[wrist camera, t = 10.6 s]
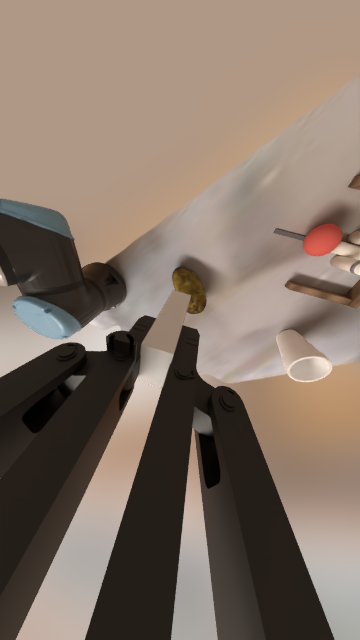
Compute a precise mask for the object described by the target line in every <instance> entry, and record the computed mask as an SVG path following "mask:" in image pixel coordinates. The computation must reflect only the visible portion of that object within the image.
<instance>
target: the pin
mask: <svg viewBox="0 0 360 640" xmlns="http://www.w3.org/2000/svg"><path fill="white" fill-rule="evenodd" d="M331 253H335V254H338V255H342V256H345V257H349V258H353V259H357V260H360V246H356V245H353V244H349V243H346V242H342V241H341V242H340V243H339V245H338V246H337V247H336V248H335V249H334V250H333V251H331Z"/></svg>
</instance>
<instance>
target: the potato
mask: <svg viewBox="0 0 360 640" xmlns="http://www.w3.org/2000/svg"><path fill="white" fill-rule="evenodd" d="M172 280H173V284H174V288H175V291H178V292H181V293H185V294H188V295H191V298H190V301H189V305H188V308H187V312H188V313H190V314H197V313H201V312H202V311H203V310H204V308H205V306H206V295H205V292H204V289H203V287H202V285H201V283H200V280H199V279H198V277H197V276H196V275H195V274H194V273H193V272H192V271H190V270H188V269H186V268H183V267H179V268H176V269H175V270H174V272H173V275H172Z"/></svg>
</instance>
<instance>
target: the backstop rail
mask: <svg viewBox="0 0 360 640" xmlns="http://www.w3.org/2000/svg"><path fill="white" fill-rule="evenodd" d="M348 187H349V188H353V189H358V190H360V175H359V176H356V177H354V179H353V180H352V182H351V183H350V185H349V186H348ZM285 287H286V288H288V289H289V290H293V291H297V292H300V293H304V294H308V295H311V296H315V297H319V298H322V299H326V300H330V301H333V302H337V303H341V304H344V305H348V306H350V307H354V308H358V307H359V306H360V280H359V281H358V282H357V283H356V284H355V285H354V287H353V288H352V289H351V290H350V291H349V292H348V293H347V294H346V295H345V296H343V295H339V294H336V293H332V292H328V291H325V290H321V289H317V288H313V287H310V286H306V285H302V284H299V283H295V282H291V281H287V283H286V285H285Z"/></svg>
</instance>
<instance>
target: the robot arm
mask: <svg viewBox="0 0 360 640" xmlns="http://www.w3.org/2000/svg"><path fill="white" fill-rule="evenodd" d="M15 284H17V286H18V288H19V290H20V292H21V293H22V296H19V297H18V298H17V299H16V300H14V302H13V310H14V312H15V314H16V315H17V317H18V318H19V319H20V320H21V321H22V322H23V323H24V324H25V325H27V326H28V327H29V328H30V329H32V330H33V331H35V332H37V333H39V334H41V335H43V336H45V337H48V338H52V339H66V338H68V337H70V336H72V335H73V334H75V333H76V332H78V331H80V330H81V329H82V328H83V327H84V326H86V325H87V324H88V323H89V322H90V321H92V320H93V319H94V318H95V317H96V316H98V315H99V314H100V313H101V312H103V311H106V310H110V309H113V308H116V307H118V306H119V305H120V304H121V303H122V302H123V301H124V299H125V297H126V287H125V283H124V281H123V279H122V278H121V276H120V275H119V274H118V272H117V271H116V270H114V269H113V268H112V267H110V266H109V265H107V264H104V263H99V262H96V263H91V264H88V265H86V266H84V267H83V268H81V265H80V261H79V257H78V254H77V250H76V247H75V243H74V238H73V237H72V235H71V231H70V228H69V226H68V223H67V220H66V219H65V217H64V216H63V215H62V214H60V213H59V212H57V211H55V210H52V209H48V208H44V207H40V206H36V205H32V204H27V203H22V202H17V201H12V200H7V199H0V285H1V286H10V285H15ZM190 298H191V295H188V294H185V293H181V292H178V291H174V290H173V291H172V293H171V295H170V296H169V298H168V300H167V302H166V303H165V305H164V307H163V308H162V310H161V312H160V313H159V315H158V317H157V318H153V317H150V316H146V315H145V316H143V317H141V318H139V319H138V320H137V322H136V323H135V324H134V326H133V327H132V328H131V329H130V331H129V332H128V331H116V332H113V333H110V334H109V335H108V336H106V342H107V351H100V352H99V351H86V350H85V347H84V346H83V345H82V344H79V343H71V342H70V343H65V344H61V345H59V346H57V347H54V348H53V349H51V350H49V351H47V352H45V353H44V354H42V355H40V356H38V357H36V358H35V359H33V360H31V361H29V362H28V363H26V364H24V365H22V366H20V367H18V368H17V369H15V370H13V371H11V372H10V373H8V374H6V375H4V376H2V377H1V378H0V478H1V479H0V640H16V637H17V635H18V633H19V631H20V629H21V627H22V625H23V623H24V620H25V618H26V616H27V614H28V612H29V610H30V608H31V606H32V603H33V601H34V599H35V597H36V595H37V593H38V591H39V589H40V587H41V584H42V582H43V580H44V578H45V576H46V574H47V572H48V570H49V568H50V565H51V563H52V561H53V559H54V557H55V555H56V553H57V551H58V549H59V546H60V544H61V542H62V540H63V538H64V536H65V534H66V532H67V530H68V527H69V525H70V523H71V521H72V519H73V517H74V515H75V513H76V510H77V508H78V506H79V504H80V502H81V500H82V498H83V496H84V494H85V491H86V489H87V487H88V485H89V483H90V481H91V479H92V476H93V474H94V472H95V470H96V468H97V466H98V464H99V462H100V459H101V458H102V455H103V453H104V451H105V449H106V447H107V445H108V443H109V441H110V438H111V436H112V434H113V432H114V430H115V428H116V426H117V423H118V422H119V419H120V417H121V415H122V413H123V411H124V409H125V407H126V405H127V402H128V400H129V398H130V396H131V394H132V392H133V389H134V383H135V381H136V379H137V377H138V381H141V382H144V383H147V384H151V385H154V386H157V387H161V388H162V391H161V394H160V397H159V401H158V404H157V407H156V411H155V414H154V417H153V420H152V423H151V427H150V430H149V433H148V437H147V440H146V443H145V446H144V450H143V453H142V456H141V459H140V462H139V466H138V469H137V472H136V476H135V479H134V482H133V485H132V489H131V492H130V495H129V499H128V501H127V505H126V508H125V511H124V514H123V518H122V521H121V524H120V527H119V531H118V534H117V537H116V540H115V544H114V547H113V550H112V553H111V557H110V560H109V563H108V566H107V570H106V574H105V576H104V580H103V583H102V586H101V589H100V593H99V596H98V599H97V602H96V605H95V609H94V612H93V615H92V618H91V622H90V625H89V628H88V631H87V635H86V638H85V640H171V632H172V622H173V613H174V602H175V593H176V583H177V573H178V563H179V553H180V544H181V533H182V524H183V514H184V503H185V493H186V484H187V474H188V464H189V454H190V445H191V435H192V428H194V430H195V439H196V448H197V457H198V466H199V475H200V483H201V493H202V502H203V511H204V520H205V529H206V538H207V546H208V555H209V564H210V573H211V582H212V591H213V600H214V609H215V618H216V627H217V636H218V640H334V637H333V634H332V632H331V629H330V627H329V624H328V622H327V619H326V616H325V614H324V611H323V608H322V606H321V603H320V601H319V598H318V595H317V593H316V590H315V588H314V585H313V582H312V580H311V577H310V575H309V572H308V570H307V567H306V564H305V562H304V559H303V557H302V554H301V551H300V549H299V546H298V543H297V541H296V539H295V536H294V533H293V531H292V528H291V525H290V523H289V520H288V518H287V515H286V513H285V510H284V507H283V505H282V502H281V499H280V497H279V494H278V492H277V489H276V486H275V484H274V481H273V479H272V476H271V474H270V471H269V468H268V466H267V463H266V460H265V458H264V455H263V453H262V450H261V447H260V445H259V443H258V440H257V437H256V435H255V432H254V430H253V427H252V424H251V422H250V419H249V417H248V414H247V411H246V409H245V406H244V404H243V401H242V400H241V398H240V396H239V395H238V394H237V393H236V392H235V391H234V390H232V389H231V388H229V387H226V386H218V387H217V388H214V387H213V386H211V385H209V384H208V383H206V382H205V381H203V379H202V378H201V377H200V376H199V374H198V373H197V369H196V363H197V354H198V346H199V337H200V335H199V333H198V330H197V329H194V328H190V327H187V326H183V323H184V319H185V315H186V312H187V308H188V305H189V301H190Z"/></svg>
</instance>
